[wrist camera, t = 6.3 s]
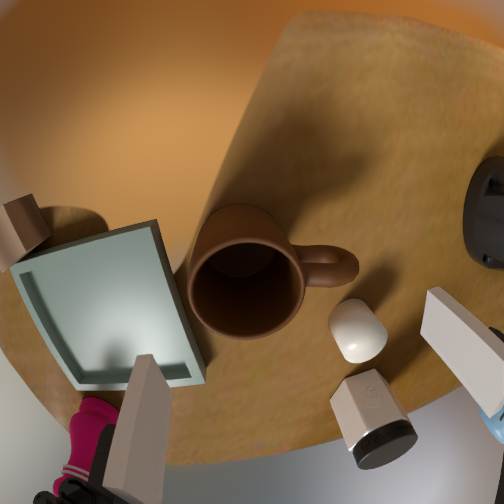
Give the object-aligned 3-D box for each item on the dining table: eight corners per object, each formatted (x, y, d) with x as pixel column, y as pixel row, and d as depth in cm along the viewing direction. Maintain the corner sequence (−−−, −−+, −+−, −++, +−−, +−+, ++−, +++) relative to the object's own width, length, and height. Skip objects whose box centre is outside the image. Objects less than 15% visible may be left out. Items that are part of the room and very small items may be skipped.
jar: (388, 361, 34) (428, 423, 23) (383, 395, 37) (413, 452, 26) (328, 381, 34) (357, 454, 23) (329, 413, 37) (352, 477, 26)
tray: (156, 218, 24) (149, 226, 22) (206, 368, 31) (205, 383, 29) (20, 257, 24) (8, 266, 22) (82, 377, 31) (76, 390, 28)
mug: (325, 193, 25) (375, 220, 16) (326, 269, 28) (365, 323, 19) (191, 206, 24) (173, 241, 16) (204, 284, 27) (197, 347, 18)
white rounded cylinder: (368, 293, 29) (389, 318, 25) (367, 328, 31) (384, 354, 27) (327, 304, 29) (343, 332, 25) (328, 339, 31) (342, 368, 27)
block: (31, 193, 22) (2, 204, 17) (52, 234, 24) (26, 251, 19) (8, 216, 22) (-20, 230, 18) (27, 254, 24) (2, 273, 20)
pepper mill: (113, 428, 35) (90, 531, 17) (74, 406, 33) (39, 508, 14) (129, 411, 34) (105, 531, 15) (86, 387, 31) (44, 505, 13)
